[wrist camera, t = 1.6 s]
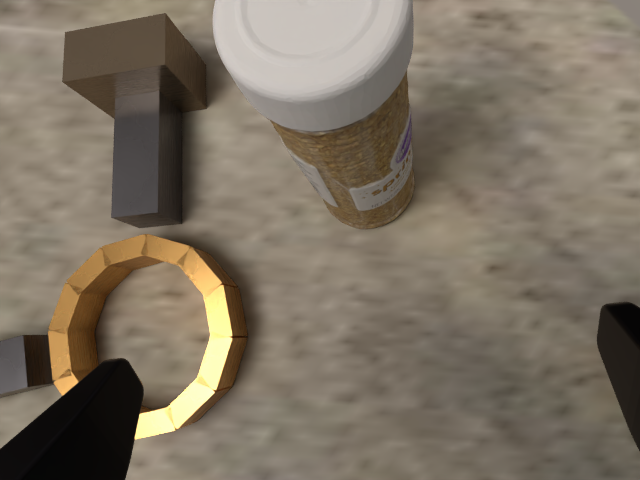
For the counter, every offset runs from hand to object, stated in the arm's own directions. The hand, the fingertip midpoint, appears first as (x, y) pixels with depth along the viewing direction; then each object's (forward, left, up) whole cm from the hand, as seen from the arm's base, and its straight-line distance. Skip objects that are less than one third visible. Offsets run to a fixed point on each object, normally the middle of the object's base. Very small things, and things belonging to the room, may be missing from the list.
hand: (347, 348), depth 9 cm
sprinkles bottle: (+6, -4, -13) cm, 15 cm away
